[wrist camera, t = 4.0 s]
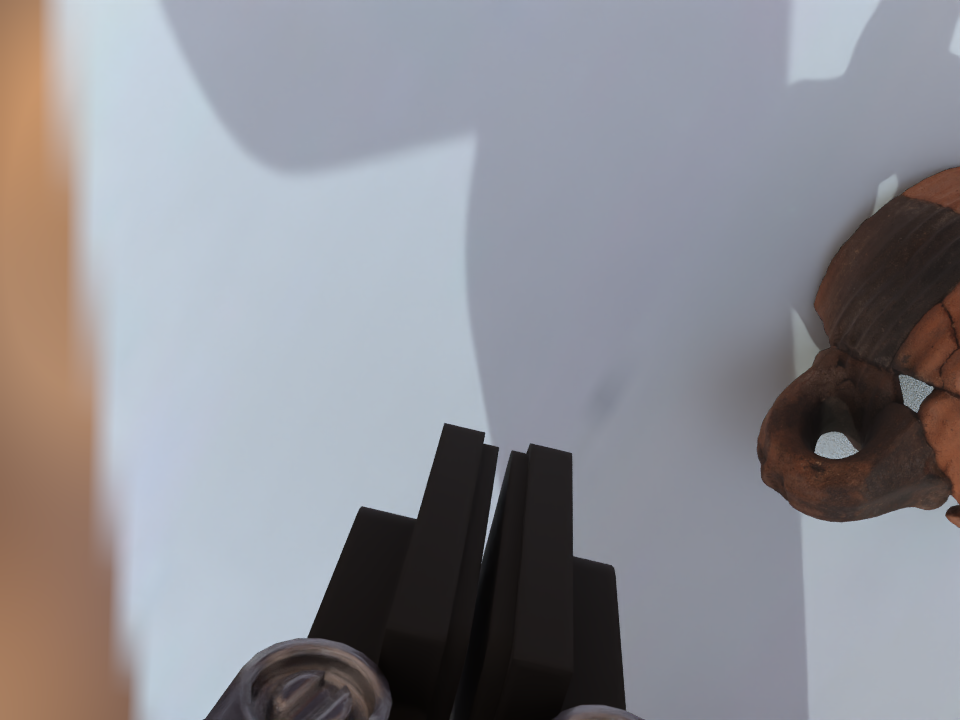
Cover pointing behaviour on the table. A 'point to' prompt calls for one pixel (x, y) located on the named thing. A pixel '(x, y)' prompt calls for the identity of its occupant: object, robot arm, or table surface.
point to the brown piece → (880, 369)
